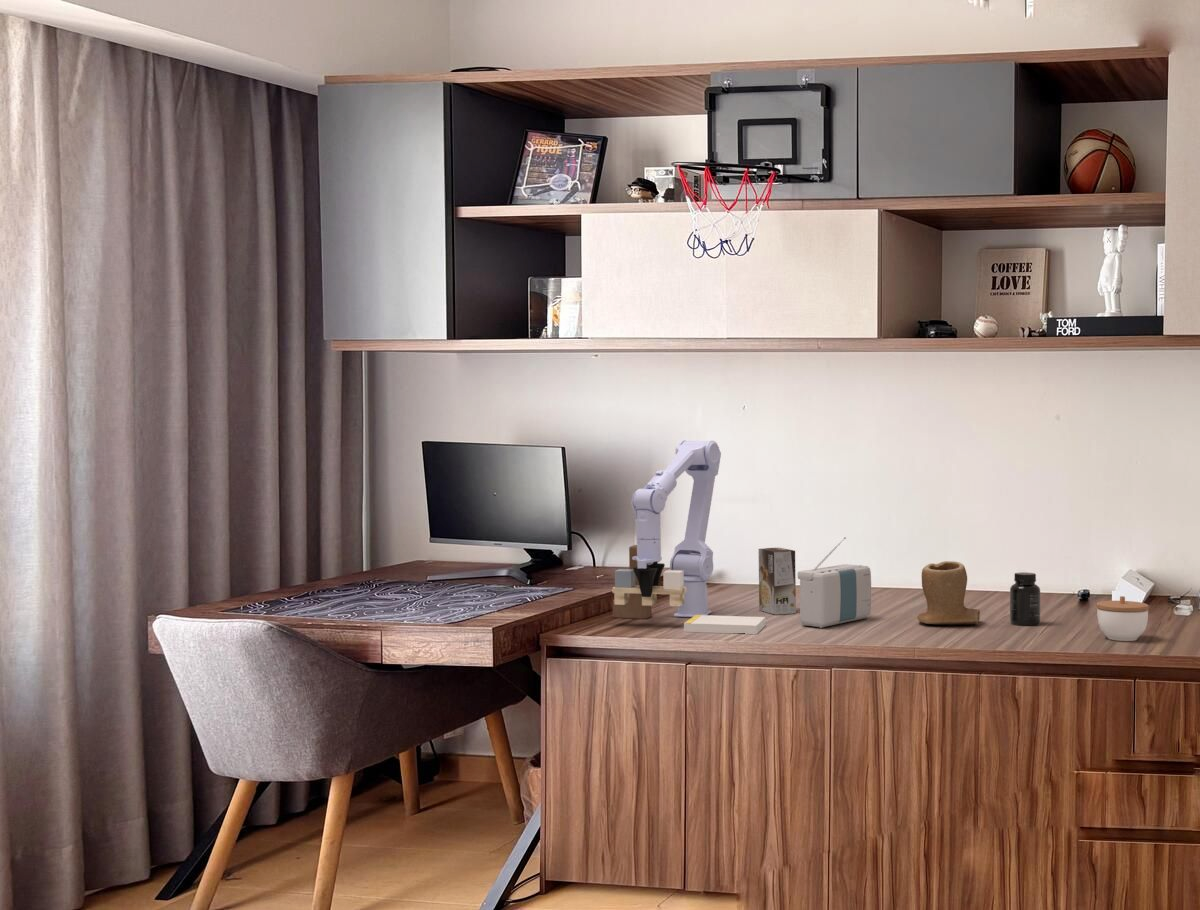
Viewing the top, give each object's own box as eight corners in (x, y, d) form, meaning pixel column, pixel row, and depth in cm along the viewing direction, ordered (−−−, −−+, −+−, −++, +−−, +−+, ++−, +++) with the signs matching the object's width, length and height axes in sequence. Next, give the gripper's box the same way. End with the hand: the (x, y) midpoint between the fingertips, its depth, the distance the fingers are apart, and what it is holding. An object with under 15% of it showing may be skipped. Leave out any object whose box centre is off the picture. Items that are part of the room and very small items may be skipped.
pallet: (617, 601, 325) (617, 585, 325) (686, 603, 320) (686, 586, 320) (612, 604, 320) (612, 587, 320) (681, 606, 315) (681, 589, 315)
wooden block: (612, 617, 333) (611, 546, 332) (617, 615, 337) (617, 544, 337) (646, 619, 330) (646, 546, 330) (652, 616, 334) (651, 545, 334)
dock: (695, 623, 323) (695, 614, 323) (765, 625, 318) (765, 616, 318) (684, 631, 311) (683, 622, 310) (756, 634, 306) (756, 625, 306)
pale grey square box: (619, 585, 324) (619, 569, 324) (635, 585, 323) (635, 569, 323) (614, 587, 320) (614, 571, 320) (630, 588, 319) (630, 571, 319)
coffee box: (797, 613, 336) (796, 550, 336) (774, 615, 334) (774, 551, 334) (779, 608, 345) (779, 546, 344) (757, 610, 343) (757, 548, 342)
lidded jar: (1149, 636, 297) (1149, 594, 297) (1148, 644, 287) (1148, 600, 287) (1097, 633, 301) (1097, 592, 301) (1095, 641, 291) (1095, 598, 291)
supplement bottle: (1038, 622, 319) (1038, 572, 318) (1041, 626, 312) (1041, 575, 312) (1008, 621, 320) (1008, 571, 320) (1011, 625, 314) (1011, 575, 313)
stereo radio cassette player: (824, 630, 311) (823, 544, 311) (795, 626, 317) (794, 542, 316) (873, 619, 326) (872, 537, 326) (844, 616, 332) (844, 536, 331)
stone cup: (921, 628, 311) (921, 564, 310) (914, 621, 323) (914, 559, 322) (988, 629, 309) (987, 564, 309) (978, 621, 321) (978, 559, 321)
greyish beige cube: (667, 586, 321) (667, 570, 320) (683, 587, 320) (683, 570, 319) (663, 588, 317) (663, 572, 317) (679, 589, 316) (679, 572, 316)
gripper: (640, 535, 327) (640, 590, 328) (624, 541, 314) (625, 598, 314) (668, 536, 326) (668, 591, 326) (653, 541, 312) (654, 599, 312)
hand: (649, 595), depth 320 cm, fingers closed on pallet, 5 cm apart
